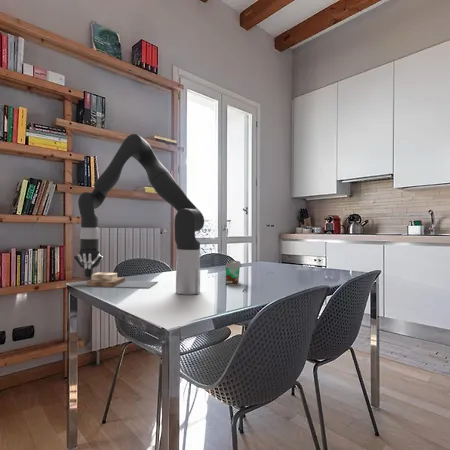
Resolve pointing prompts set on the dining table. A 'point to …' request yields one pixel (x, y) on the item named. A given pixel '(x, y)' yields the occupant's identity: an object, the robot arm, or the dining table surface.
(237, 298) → the dining table surface
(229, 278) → the food container
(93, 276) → the beech tile
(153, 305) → the dining table surface
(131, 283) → the charcoal mat
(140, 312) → the dining table surface
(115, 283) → the block
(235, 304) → the dining table surface
